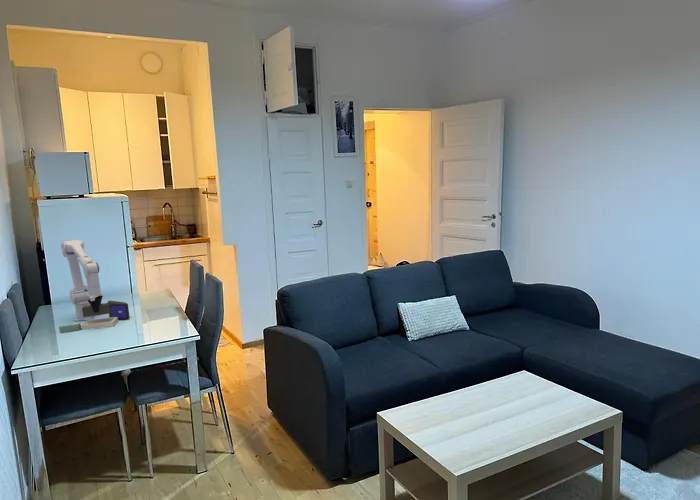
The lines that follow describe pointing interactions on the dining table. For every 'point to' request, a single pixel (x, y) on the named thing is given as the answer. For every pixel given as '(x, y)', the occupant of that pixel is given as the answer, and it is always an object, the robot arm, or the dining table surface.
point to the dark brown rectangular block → (102, 310)
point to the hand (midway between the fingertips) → (97, 311)
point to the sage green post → (70, 327)
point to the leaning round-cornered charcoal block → (118, 310)
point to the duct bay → (100, 323)
